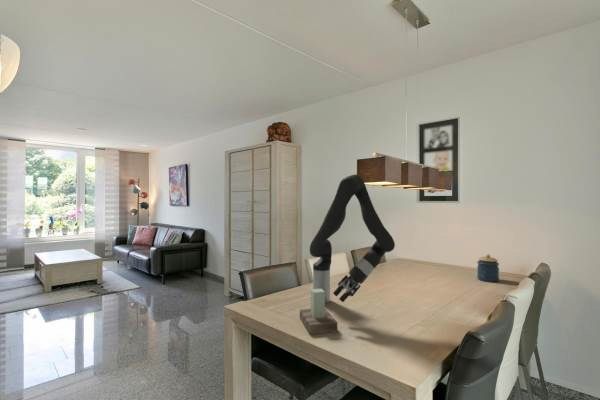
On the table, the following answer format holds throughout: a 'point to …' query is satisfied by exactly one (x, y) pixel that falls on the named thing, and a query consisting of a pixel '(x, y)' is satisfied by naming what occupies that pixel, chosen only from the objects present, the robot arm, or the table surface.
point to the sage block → (317, 303)
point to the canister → (488, 269)
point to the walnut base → (318, 322)
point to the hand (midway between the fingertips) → (337, 297)
